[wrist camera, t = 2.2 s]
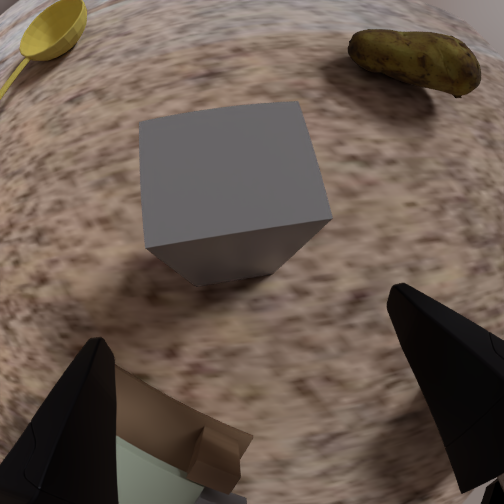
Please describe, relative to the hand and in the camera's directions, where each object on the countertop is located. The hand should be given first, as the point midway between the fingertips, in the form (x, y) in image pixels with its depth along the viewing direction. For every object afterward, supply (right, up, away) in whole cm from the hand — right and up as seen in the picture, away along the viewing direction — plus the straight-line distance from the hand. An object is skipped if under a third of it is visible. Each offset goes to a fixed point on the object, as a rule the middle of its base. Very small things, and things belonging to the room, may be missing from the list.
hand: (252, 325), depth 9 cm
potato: (+16, +20, +16) cm, 30 cm away
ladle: (-26, +18, +13) cm, 34 cm away
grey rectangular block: (-1, +2, +11) cm, 12 cm away
